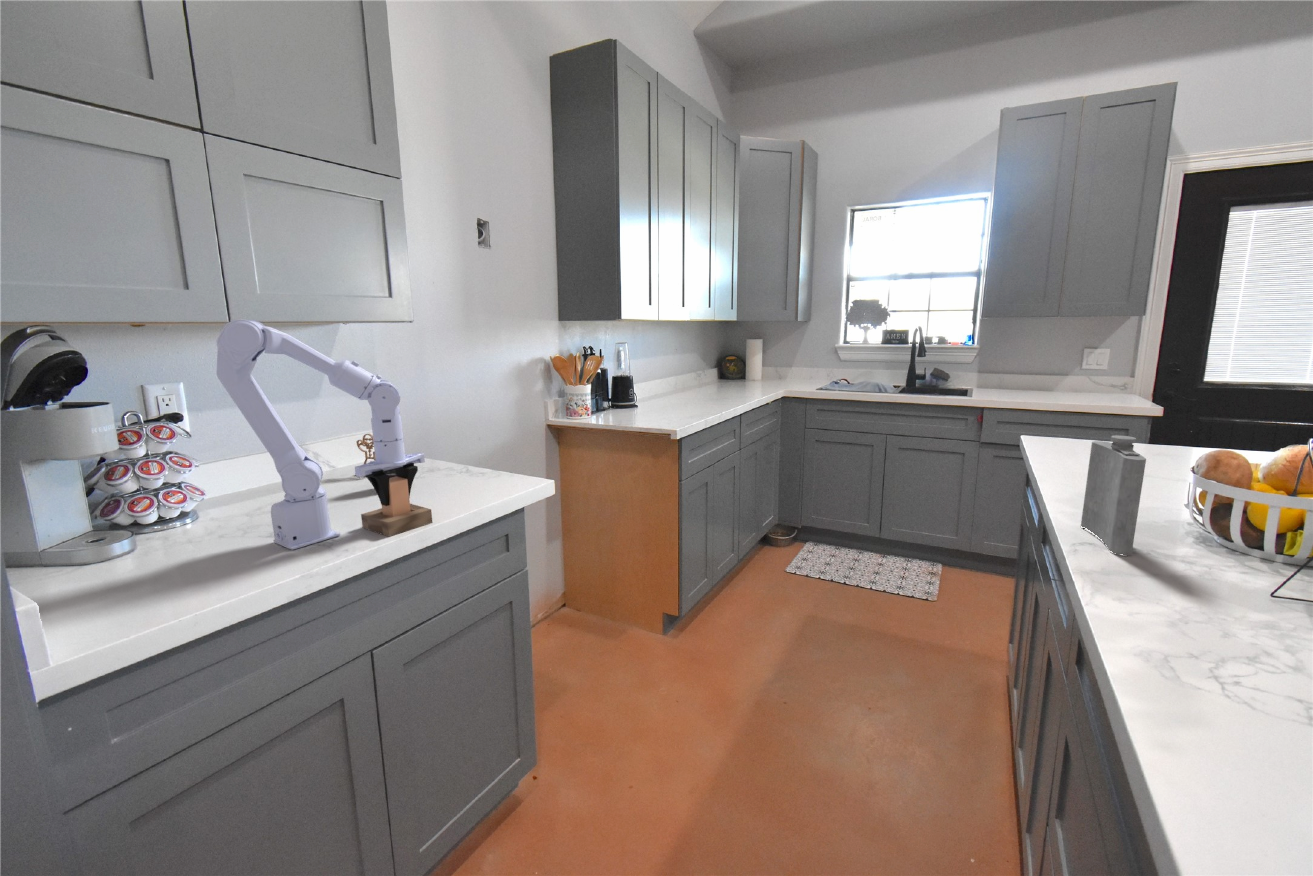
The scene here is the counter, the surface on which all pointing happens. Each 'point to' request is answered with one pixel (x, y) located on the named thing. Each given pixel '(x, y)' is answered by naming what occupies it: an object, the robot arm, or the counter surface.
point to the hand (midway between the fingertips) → (395, 501)
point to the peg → (397, 498)
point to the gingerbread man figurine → (367, 447)
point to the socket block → (396, 520)
